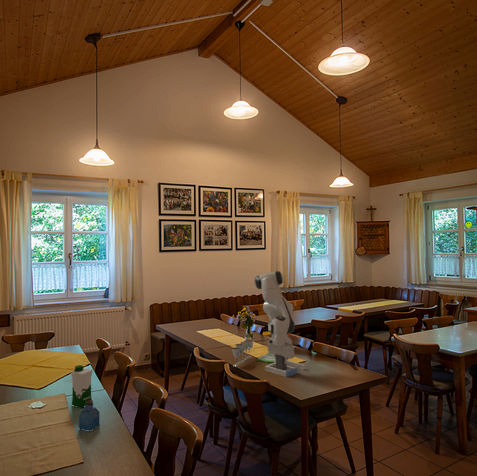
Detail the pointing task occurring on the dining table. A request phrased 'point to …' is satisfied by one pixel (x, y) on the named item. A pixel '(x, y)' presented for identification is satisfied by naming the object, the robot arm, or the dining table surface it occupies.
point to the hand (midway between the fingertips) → (281, 362)
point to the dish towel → (267, 358)
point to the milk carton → (81, 386)
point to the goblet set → (242, 350)
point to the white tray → (286, 373)
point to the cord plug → (280, 363)
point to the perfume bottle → (89, 417)
